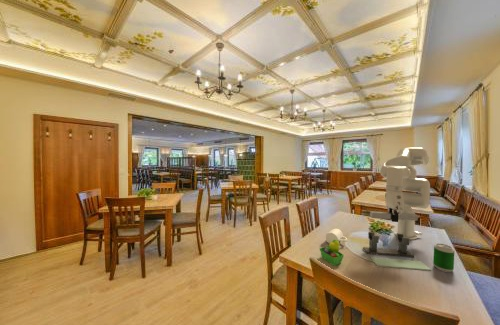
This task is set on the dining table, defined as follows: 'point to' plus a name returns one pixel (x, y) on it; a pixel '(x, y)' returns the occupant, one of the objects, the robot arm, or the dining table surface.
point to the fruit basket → (332, 253)
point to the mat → (400, 263)
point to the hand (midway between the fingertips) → (392, 220)
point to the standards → (391, 252)
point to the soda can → (443, 257)
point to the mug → (335, 236)
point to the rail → (389, 215)
